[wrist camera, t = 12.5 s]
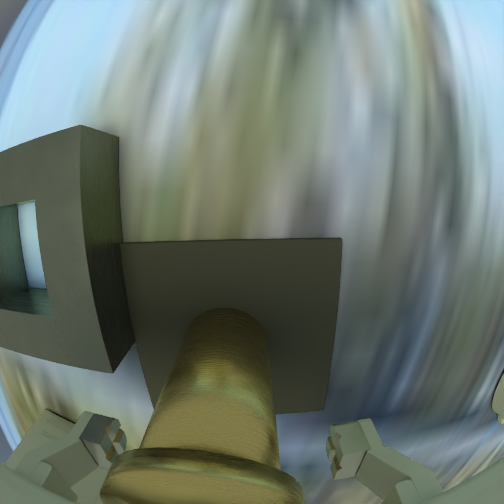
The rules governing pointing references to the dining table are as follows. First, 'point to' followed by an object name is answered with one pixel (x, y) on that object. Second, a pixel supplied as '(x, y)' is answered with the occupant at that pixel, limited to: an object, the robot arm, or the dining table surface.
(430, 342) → the dining table surface
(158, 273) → the mat
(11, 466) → the supplement box
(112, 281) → the housing
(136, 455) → the knob
